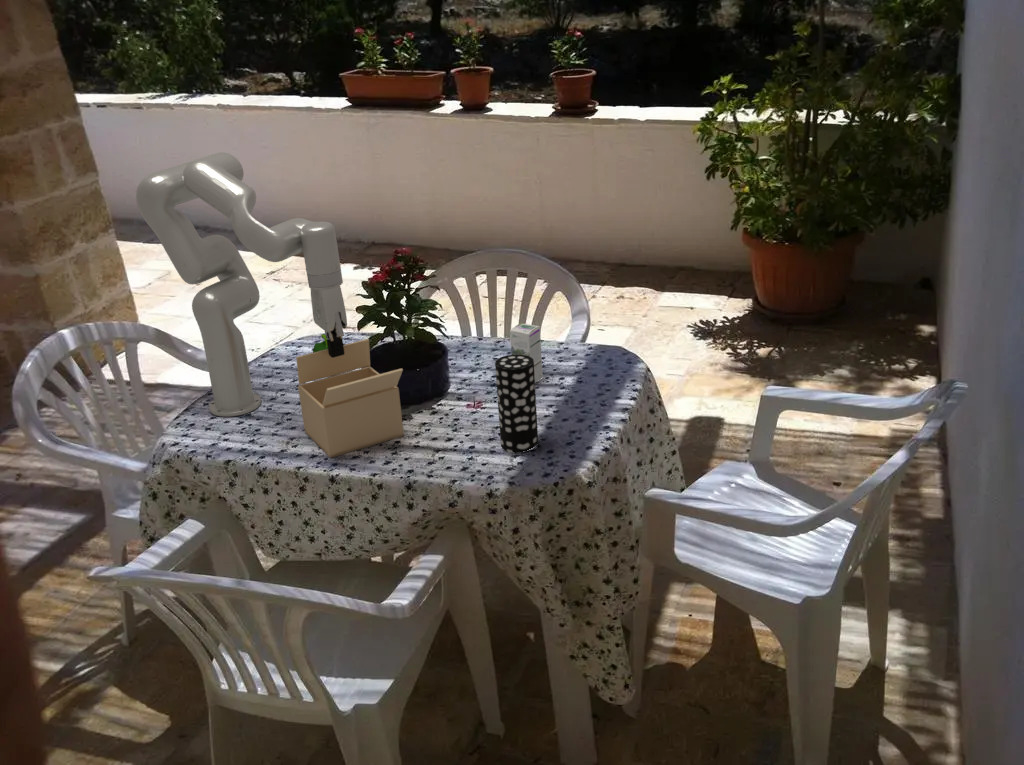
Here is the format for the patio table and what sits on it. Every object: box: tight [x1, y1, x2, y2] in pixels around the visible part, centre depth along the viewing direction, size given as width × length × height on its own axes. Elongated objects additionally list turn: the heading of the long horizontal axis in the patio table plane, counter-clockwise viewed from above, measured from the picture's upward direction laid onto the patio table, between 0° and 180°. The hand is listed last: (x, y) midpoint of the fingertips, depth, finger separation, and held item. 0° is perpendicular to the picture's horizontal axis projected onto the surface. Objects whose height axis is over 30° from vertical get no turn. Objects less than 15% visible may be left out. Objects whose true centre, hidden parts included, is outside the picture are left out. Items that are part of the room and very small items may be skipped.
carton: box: [297, 366, 405, 459], centre depth 240 cm, size 16×18×12 cm
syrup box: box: [509, 322, 544, 382], centre depth 262 cm, size 6×6×14 cm
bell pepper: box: [312, 333, 328, 353], centre depth 276 cm, size 8×8×10 cm
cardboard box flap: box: [322, 367, 404, 406], centre depth 229 cm, size 7×18×1 cm
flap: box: [296, 338, 371, 385], centre depth 242 cm, size 7×18×1 cm
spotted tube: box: [494, 354, 539, 454], centre depth 229 cm, size 8×8×20 cm
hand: (336, 355), depth 239 cm, fingers closed
